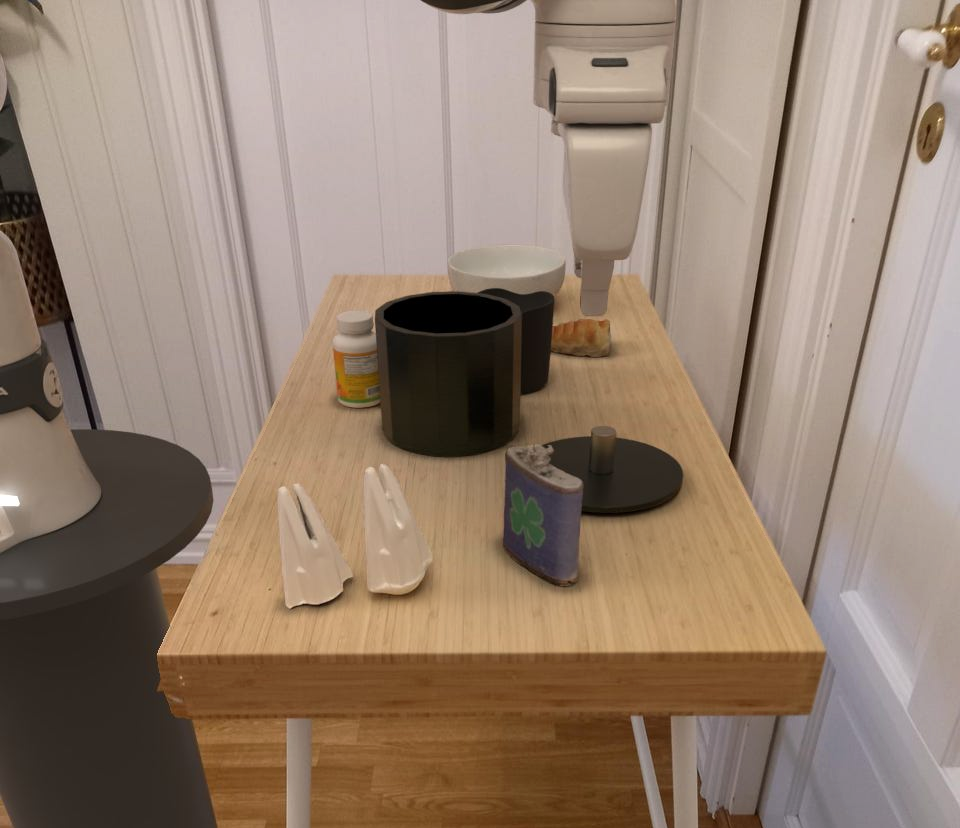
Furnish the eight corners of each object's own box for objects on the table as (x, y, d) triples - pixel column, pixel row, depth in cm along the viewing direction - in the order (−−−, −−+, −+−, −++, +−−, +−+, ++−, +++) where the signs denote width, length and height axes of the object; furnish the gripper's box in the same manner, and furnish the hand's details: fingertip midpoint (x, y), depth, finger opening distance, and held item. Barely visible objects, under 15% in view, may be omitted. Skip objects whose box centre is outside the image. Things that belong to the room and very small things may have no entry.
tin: (382, 459, 99) (373, 338, 92) (383, 404, 111) (376, 293, 104) (525, 454, 100) (528, 333, 92) (511, 400, 112) (513, 289, 104)
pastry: (537, 356, 124) (538, 326, 122) (540, 339, 129) (541, 310, 127) (611, 358, 123) (613, 328, 121) (611, 341, 128) (613, 312, 126)
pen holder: (520, 363, 122) (521, 281, 116) (567, 385, 115) (571, 300, 109) (458, 379, 117) (456, 295, 112) (503, 403, 111) (503, 315, 105)
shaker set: (434, 574, 81) (428, 451, 74) (436, 601, 77) (431, 475, 71) (289, 581, 80) (271, 458, 73) (285, 609, 76) (266, 482, 70)
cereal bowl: (440, 296, 146) (439, 246, 141) (548, 289, 148) (549, 240, 144) (459, 331, 132) (458, 278, 128) (577, 323, 134) (579, 271, 130)
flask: (584, 581, 80) (591, 461, 73) (555, 592, 78) (560, 471, 72) (520, 535, 86) (522, 422, 80) (492, 544, 85) (492, 430, 78)
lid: (529, 522, 88) (530, 469, 85) (512, 449, 101) (512, 401, 98) (700, 515, 89) (707, 463, 86) (661, 443, 102) (666, 396, 99)
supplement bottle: (341, 391, 114) (334, 308, 109) (387, 391, 114) (381, 308, 109) (334, 408, 110) (326, 323, 104) (381, 409, 110) (375, 323, 104)
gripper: (549, 59, 71) (542, 256, 79) (557, 93, 54) (548, 338, 62) (635, 59, 71) (620, 256, 79) (670, 93, 54) (647, 339, 62)
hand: (588, 293), depth 70 cm, fingers open, 8 cm apart
